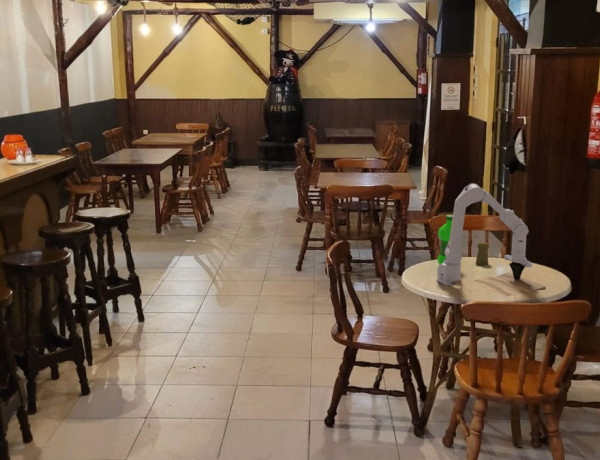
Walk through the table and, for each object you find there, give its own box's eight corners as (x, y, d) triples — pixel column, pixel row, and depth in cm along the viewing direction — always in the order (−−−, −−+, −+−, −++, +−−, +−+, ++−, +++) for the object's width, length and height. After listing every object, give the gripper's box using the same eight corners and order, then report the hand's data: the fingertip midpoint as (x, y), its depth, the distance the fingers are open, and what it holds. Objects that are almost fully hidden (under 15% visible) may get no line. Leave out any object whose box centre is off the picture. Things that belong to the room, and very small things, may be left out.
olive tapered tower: (486, 262, 323) (487, 240, 320) (490, 266, 317) (491, 243, 314) (473, 262, 322) (475, 240, 320) (477, 266, 317) (479, 244, 314)
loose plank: (532, 294, 278) (532, 290, 277) (496, 279, 297) (496, 276, 297) (545, 289, 281) (545, 286, 280) (508, 275, 300) (508, 272, 299)
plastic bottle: (444, 263, 322) (447, 212, 316) (463, 267, 314) (466, 216, 308) (432, 267, 315) (434, 215, 309) (451, 272, 308) (454, 219, 302)
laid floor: (505, 299, 271) (505, 296, 271) (469, 284, 291) (469, 280, 290) (531, 294, 278) (531, 291, 277) (494, 279, 297) (495, 276, 296)
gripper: (538, 251, 283) (536, 282, 286) (513, 244, 296) (511, 273, 299) (525, 254, 280) (523, 284, 284) (501, 246, 293) (499, 275, 296)
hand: (516, 279), depth 291 cm, fingers closed, pressing on loose plank
